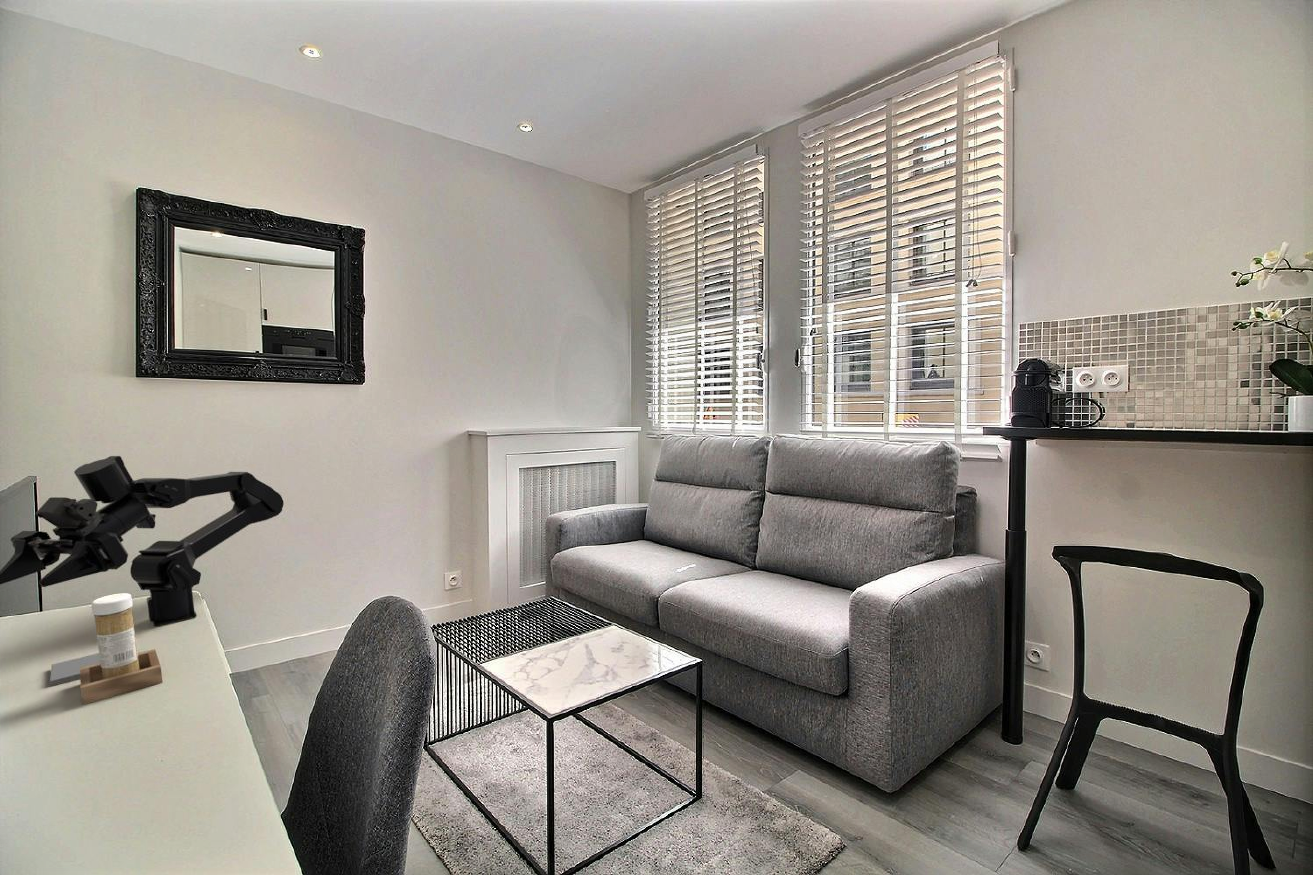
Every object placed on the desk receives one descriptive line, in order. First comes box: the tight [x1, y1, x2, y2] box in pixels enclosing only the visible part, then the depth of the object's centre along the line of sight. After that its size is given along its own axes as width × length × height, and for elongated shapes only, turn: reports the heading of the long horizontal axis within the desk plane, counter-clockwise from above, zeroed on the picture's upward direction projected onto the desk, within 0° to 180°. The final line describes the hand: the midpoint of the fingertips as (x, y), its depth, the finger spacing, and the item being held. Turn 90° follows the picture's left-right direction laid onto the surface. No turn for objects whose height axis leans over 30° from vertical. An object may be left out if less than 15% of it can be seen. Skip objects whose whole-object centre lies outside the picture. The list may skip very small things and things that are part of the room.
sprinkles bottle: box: [91, 592, 139, 680], centre depth 95 cm, size 5×5×13 cm
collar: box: [79, 648, 164, 705], centre depth 96 cm, size 9×9×2 cm
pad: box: [49, 652, 100, 687], centre depth 102 cm, size 10×8×1 cm
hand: (17, 583), depth 98 cm, fingers open, 9 cm apart
